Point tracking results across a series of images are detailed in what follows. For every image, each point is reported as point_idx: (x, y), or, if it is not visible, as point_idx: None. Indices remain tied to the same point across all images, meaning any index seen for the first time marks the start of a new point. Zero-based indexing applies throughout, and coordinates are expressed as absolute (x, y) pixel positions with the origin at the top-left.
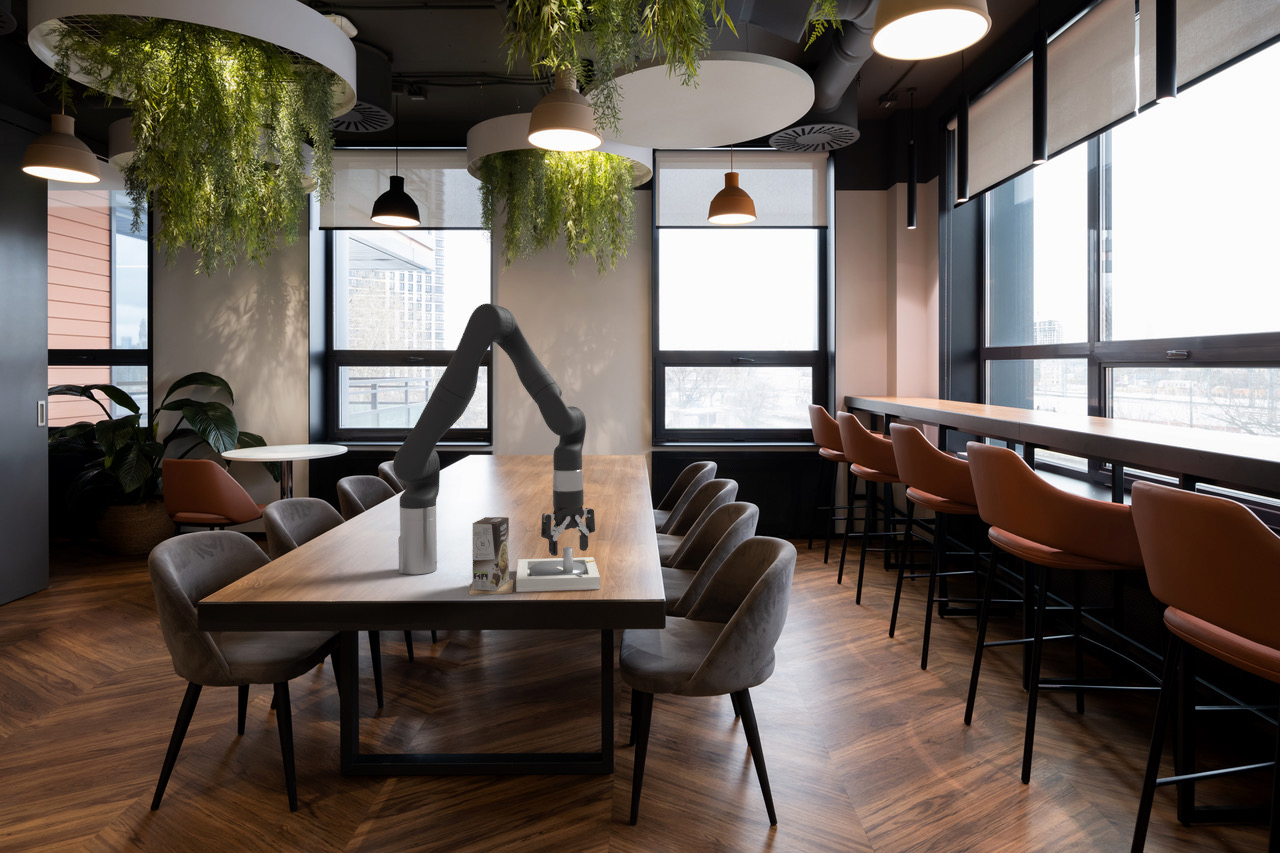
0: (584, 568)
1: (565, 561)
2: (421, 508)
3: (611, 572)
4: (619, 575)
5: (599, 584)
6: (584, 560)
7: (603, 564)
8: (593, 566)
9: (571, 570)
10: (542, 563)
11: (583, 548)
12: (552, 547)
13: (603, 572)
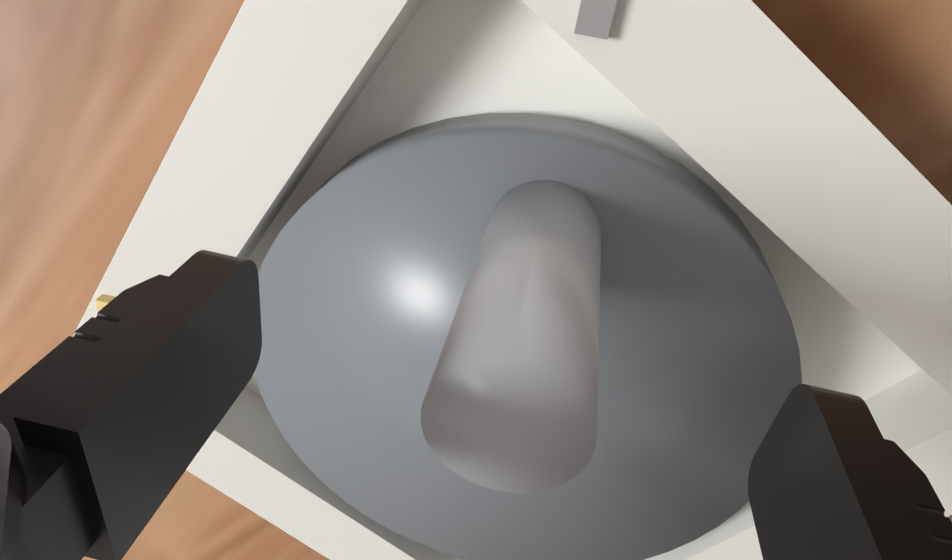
0: (318, 193)
1: (597, 293)
2: None
3: (35, 146)
4: (5, 14)
5: None
6: None
7: (7, 338)
8: (196, 177)
9: (539, 190)
10: (497, 546)
11: (238, 295)
12: (948, 545)
13: (96, 197)
